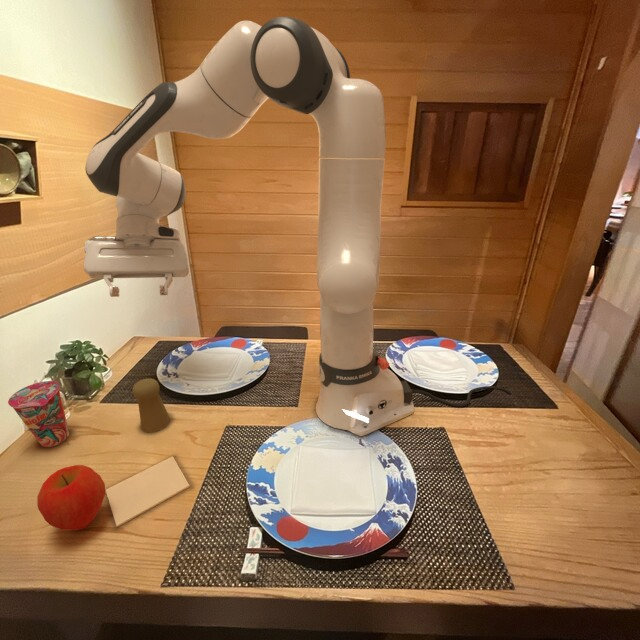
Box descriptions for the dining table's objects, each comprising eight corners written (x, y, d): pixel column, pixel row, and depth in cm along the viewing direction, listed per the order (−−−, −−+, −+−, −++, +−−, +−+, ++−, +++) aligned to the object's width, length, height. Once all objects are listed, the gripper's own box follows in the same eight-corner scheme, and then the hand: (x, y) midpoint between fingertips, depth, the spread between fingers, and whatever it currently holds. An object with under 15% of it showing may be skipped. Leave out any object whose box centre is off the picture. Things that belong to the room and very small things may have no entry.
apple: (123, 499, 62) (106, 453, 58) (96, 547, 55) (73, 499, 50) (75, 500, 63) (54, 454, 58) (41, 549, 55) (13, 500, 50)
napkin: (173, 457, 71) (172, 455, 71) (189, 486, 64) (189, 485, 64) (106, 491, 64) (105, 489, 64) (117, 527, 58) (116, 526, 57)
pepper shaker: (160, 434, 77) (147, 392, 72) (135, 430, 78) (121, 389, 73) (175, 415, 82) (165, 375, 77) (152, 412, 83) (140, 373, 79)
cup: (20, 450, 74) (-4, 403, 69) (56, 422, 81) (37, 378, 76) (56, 457, 72) (34, 409, 67) (90, 428, 79) (72, 383, 74)
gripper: (80, 228, 73) (77, 290, 69) (186, 230, 80) (189, 287, 76) (89, 243, 79) (87, 302, 75) (187, 244, 85) (190, 298, 82)
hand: (139, 295), depth 75 cm, fingers open, 8 cm apart
